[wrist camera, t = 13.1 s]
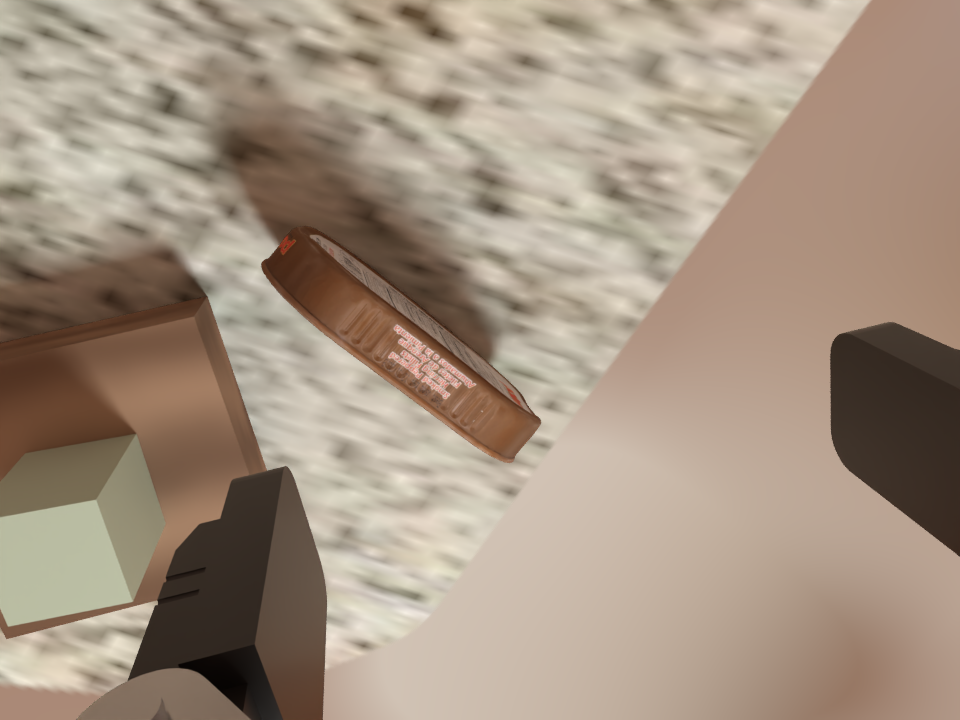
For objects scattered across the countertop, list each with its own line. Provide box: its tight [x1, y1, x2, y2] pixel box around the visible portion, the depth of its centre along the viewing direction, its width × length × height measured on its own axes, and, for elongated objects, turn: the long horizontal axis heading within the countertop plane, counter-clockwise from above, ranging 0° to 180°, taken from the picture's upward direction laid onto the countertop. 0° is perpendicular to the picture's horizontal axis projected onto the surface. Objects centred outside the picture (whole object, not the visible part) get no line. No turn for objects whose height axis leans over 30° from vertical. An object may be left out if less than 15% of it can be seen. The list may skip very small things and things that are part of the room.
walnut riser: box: [0, 296, 267, 639], centre depth 38 cm, size 14×14×4 cm
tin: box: [261, 226, 541, 463], centre depth 35 cm, size 15×3×8 cm, turn 48°
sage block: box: [0, 434, 166, 627], centre depth 33 cm, size 5×5×6 cm
